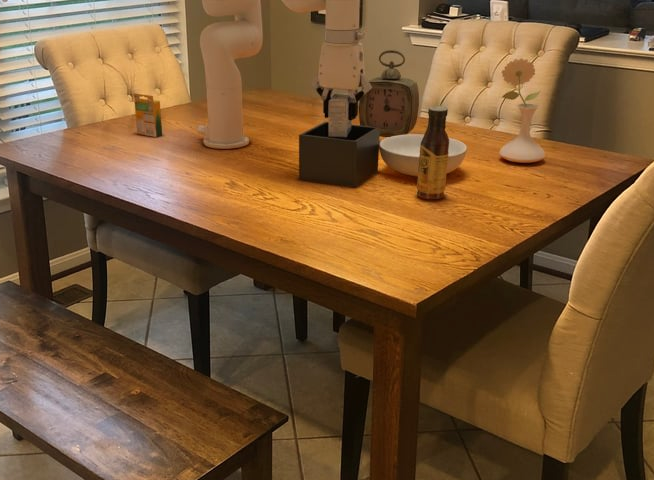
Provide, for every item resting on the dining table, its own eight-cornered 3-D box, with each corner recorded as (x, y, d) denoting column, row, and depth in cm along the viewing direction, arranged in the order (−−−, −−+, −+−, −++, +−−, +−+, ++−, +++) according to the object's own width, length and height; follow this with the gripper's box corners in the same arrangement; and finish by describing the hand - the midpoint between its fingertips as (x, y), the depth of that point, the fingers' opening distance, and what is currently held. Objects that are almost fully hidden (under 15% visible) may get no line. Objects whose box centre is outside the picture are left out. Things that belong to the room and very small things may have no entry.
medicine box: (346, 138, 189) (347, 100, 185) (327, 137, 189) (328, 99, 185) (351, 130, 195) (352, 93, 192) (333, 129, 196) (333, 92, 192)
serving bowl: (411, 190, 186) (412, 160, 183) (362, 167, 203) (363, 140, 200) (482, 177, 195) (485, 149, 192) (430, 156, 212) (431, 130, 208)
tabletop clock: (357, 147, 220) (360, 51, 209) (367, 139, 228) (370, 46, 216) (409, 152, 215) (415, 54, 204) (417, 144, 223) (424, 49, 211)
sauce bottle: (413, 192, 185) (419, 104, 176) (440, 191, 185) (447, 103, 176) (420, 201, 179) (426, 111, 170) (447, 200, 180) (455, 110, 171)
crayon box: (163, 135, 233) (159, 94, 228) (156, 137, 231) (152, 96, 226) (143, 132, 237) (140, 91, 231) (136, 134, 234) (133, 93, 229)
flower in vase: (547, 157, 210) (561, 56, 199) (540, 168, 201) (554, 64, 190) (497, 151, 215) (507, 53, 204) (487, 162, 206) (498, 60, 195)
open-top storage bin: (298, 179, 194) (298, 134, 189) (324, 164, 206) (324, 121, 201) (355, 187, 188) (356, 141, 183) (378, 171, 200) (380, 127, 195)
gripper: (383, 37, 182) (380, 118, 190) (314, 32, 189) (314, 111, 197) (371, 41, 176) (368, 125, 184) (300, 37, 183) (300, 117, 191)
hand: (340, 117), depth 191 cm, fingers closed on medicine box, 5 cm apart
